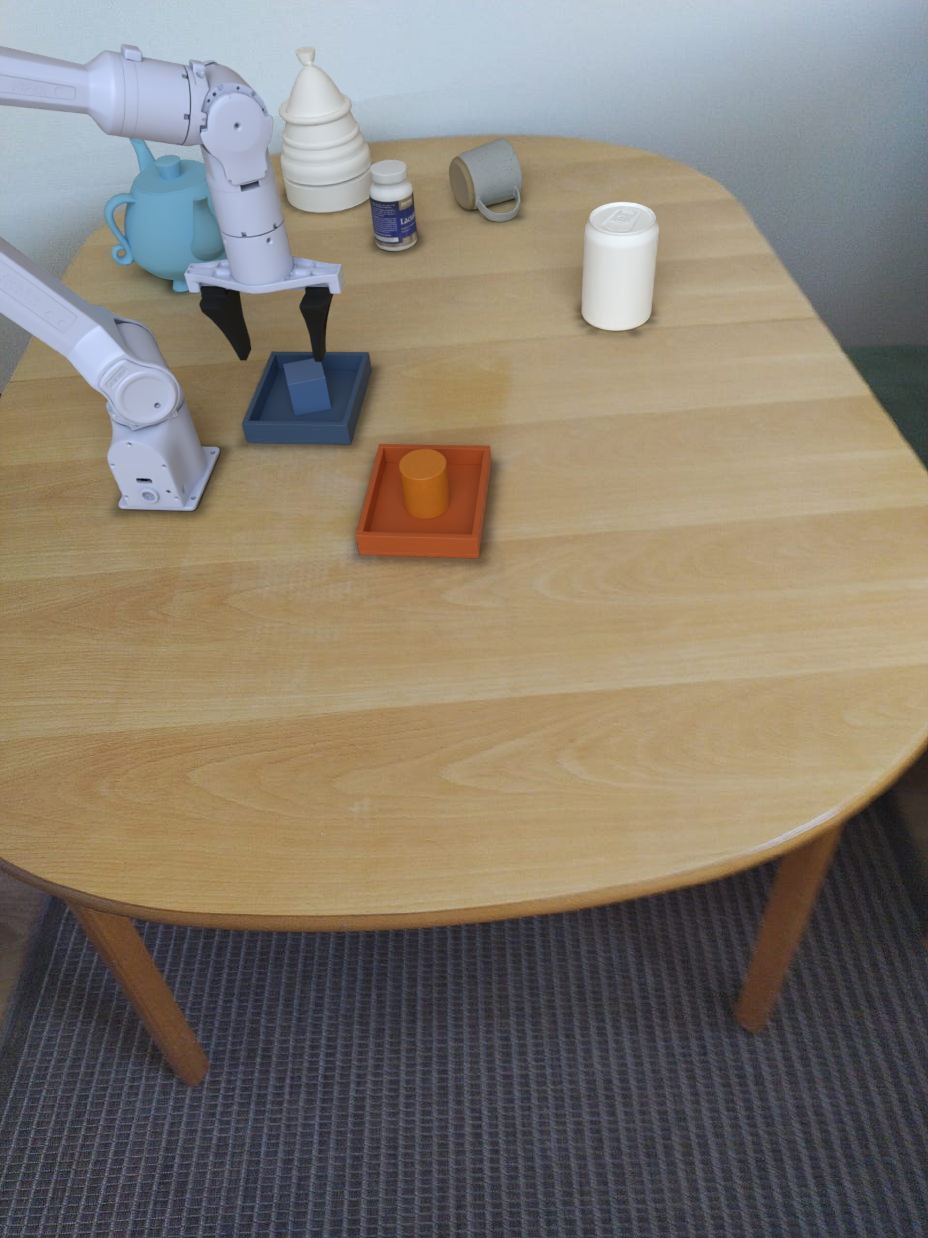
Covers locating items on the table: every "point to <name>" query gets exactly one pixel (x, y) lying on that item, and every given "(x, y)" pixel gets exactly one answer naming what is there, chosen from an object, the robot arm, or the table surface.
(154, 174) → the teapot
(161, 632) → the table surface
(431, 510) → the amber cylinder
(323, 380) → the blue block
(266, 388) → the blue tray
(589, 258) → the beverage can
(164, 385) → the robot arm
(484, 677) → the table surface
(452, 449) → the orange tray
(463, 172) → the ceramic mug
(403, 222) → the pill bottle
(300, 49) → the honey pot
